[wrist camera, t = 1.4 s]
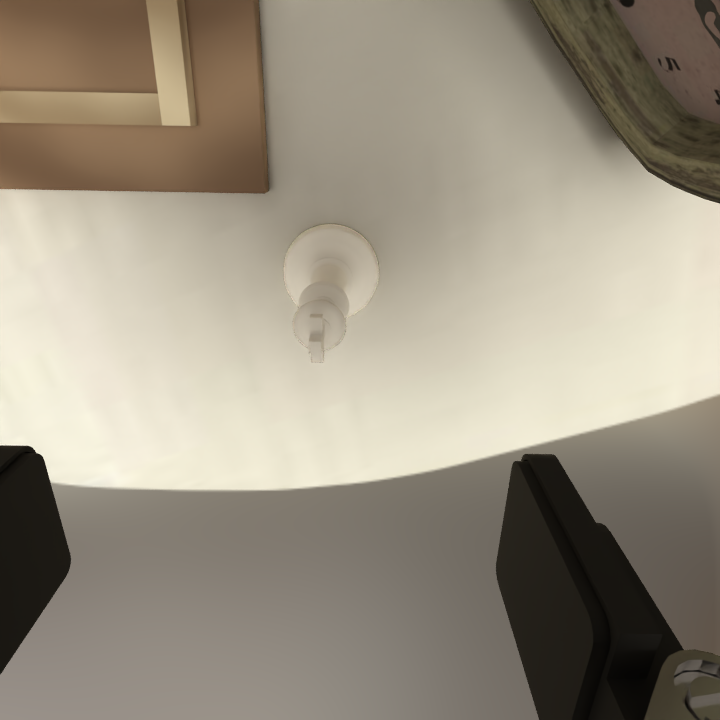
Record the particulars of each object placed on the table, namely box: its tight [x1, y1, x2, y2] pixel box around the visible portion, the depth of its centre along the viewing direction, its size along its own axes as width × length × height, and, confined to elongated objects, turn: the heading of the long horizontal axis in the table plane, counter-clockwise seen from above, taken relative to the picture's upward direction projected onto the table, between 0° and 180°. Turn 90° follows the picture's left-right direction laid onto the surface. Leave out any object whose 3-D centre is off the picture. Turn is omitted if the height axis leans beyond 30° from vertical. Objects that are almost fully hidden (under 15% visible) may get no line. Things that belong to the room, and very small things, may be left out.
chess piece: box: [284, 224, 379, 362], centre depth 22 cm, size 5×5×10 cm
